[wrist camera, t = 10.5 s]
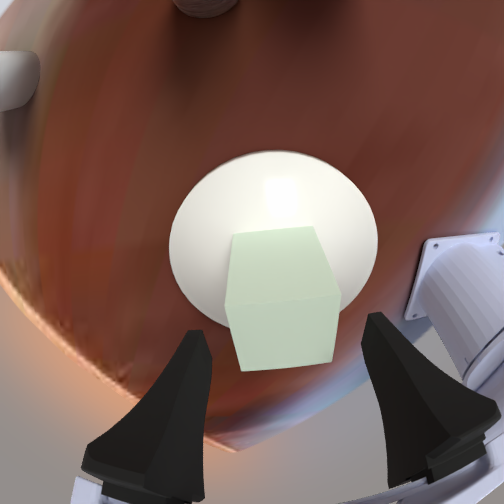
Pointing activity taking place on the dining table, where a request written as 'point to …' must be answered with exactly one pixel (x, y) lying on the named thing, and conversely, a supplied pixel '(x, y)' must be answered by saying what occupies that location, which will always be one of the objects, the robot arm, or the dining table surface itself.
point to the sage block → (281, 299)
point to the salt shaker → (205, 7)
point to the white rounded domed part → (17, 78)
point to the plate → (269, 222)
